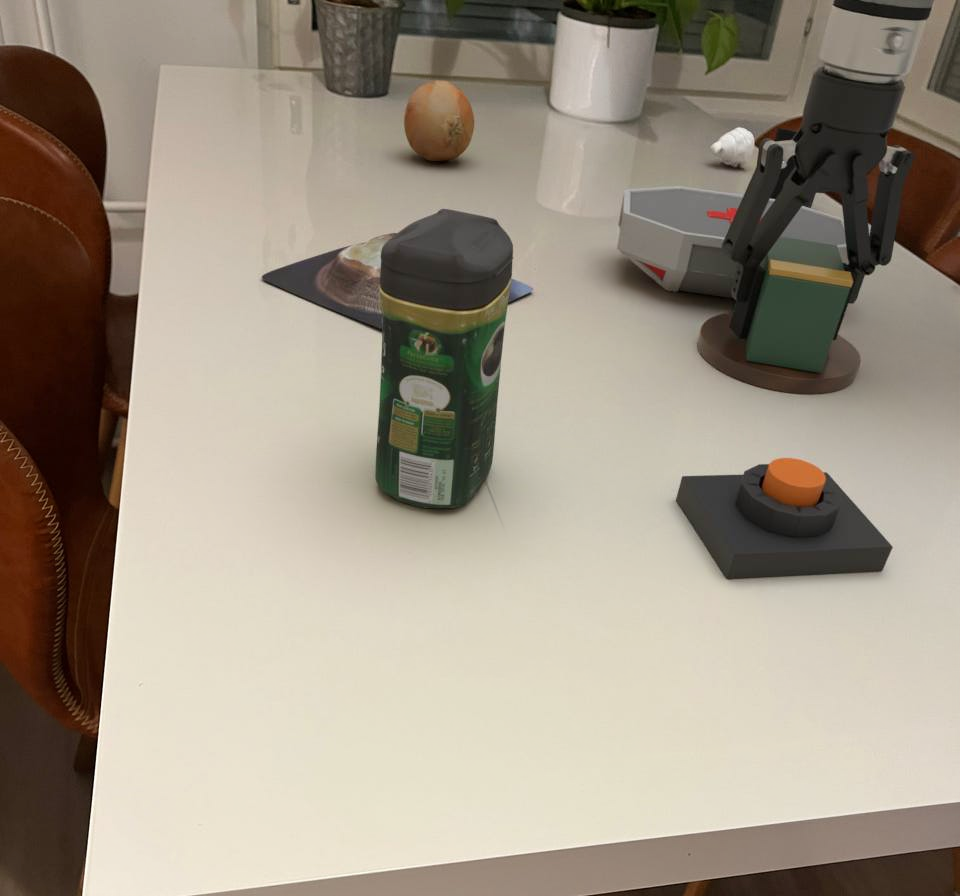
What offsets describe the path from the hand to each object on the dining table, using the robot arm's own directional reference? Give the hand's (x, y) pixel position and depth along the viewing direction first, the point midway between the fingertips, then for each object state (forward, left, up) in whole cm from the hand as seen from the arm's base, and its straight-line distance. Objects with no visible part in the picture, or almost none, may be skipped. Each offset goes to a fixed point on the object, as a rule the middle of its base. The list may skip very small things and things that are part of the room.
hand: (782, 333), depth 96 cm
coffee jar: (+38, +21, -2) cm, 44 cm away
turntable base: (0, 0, -2) cm, 2 cm away
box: (0, 0, -1) cm, 1 cm away
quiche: (+35, -17, -2) cm, 39 cm away
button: (+14, +30, +1) cm, 34 cm away
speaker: (-23, -47, -2) cm, 52 cm away
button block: (+14, +30, -2) cm, 34 cm away
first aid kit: (-2, -19, -2) cm, 19 cm away
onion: (+23, -64, -3) cm, 68 cm away
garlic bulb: (-23, -68, -3) cm, 71 cm away
